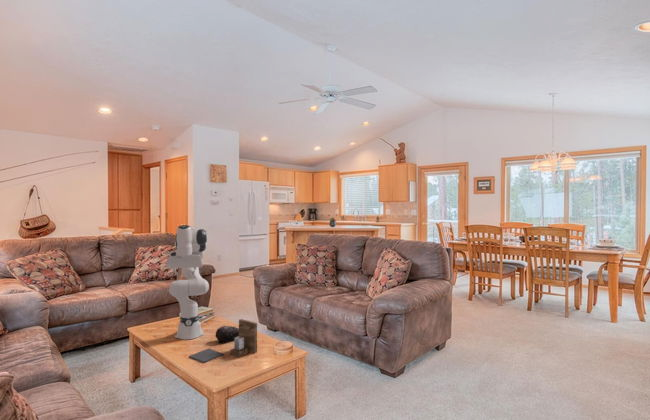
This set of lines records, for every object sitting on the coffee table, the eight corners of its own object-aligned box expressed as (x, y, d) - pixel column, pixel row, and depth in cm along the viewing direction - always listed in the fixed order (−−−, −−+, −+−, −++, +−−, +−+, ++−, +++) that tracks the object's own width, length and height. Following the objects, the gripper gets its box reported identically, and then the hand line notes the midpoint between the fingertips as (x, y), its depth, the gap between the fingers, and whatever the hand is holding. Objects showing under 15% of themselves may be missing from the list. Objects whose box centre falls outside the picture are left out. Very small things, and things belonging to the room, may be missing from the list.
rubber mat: (189, 357, 216) (189, 355, 216) (208, 349, 228) (208, 348, 228) (204, 363, 208) (204, 361, 208) (223, 354, 220) (223, 353, 220)
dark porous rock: (244, 338, 247) (244, 323, 247) (220, 345, 235) (220, 330, 235) (236, 334, 255) (236, 320, 255) (212, 341, 242) (212, 326, 242)
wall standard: (242, 358, 214) (242, 328, 214) (226, 353, 222) (226, 323, 222) (257, 352, 224) (257, 323, 224) (241, 347, 232) (241, 319, 232)
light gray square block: (239, 355, 218) (238, 339, 218) (234, 354, 221) (234, 337, 221) (244, 353, 222) (243, 337, 222) (239, 352, 224) (239, 336, 224)
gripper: (203, 250, 226) (203, 273, 227) (167, 252, 221) (168, 275, 221) (202, 252, 220) (202, 275, 220) (165, 253, 215) (166, 277, 215)
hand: (184, 275), depth 221 cm, fingers open, 8 cm apart
